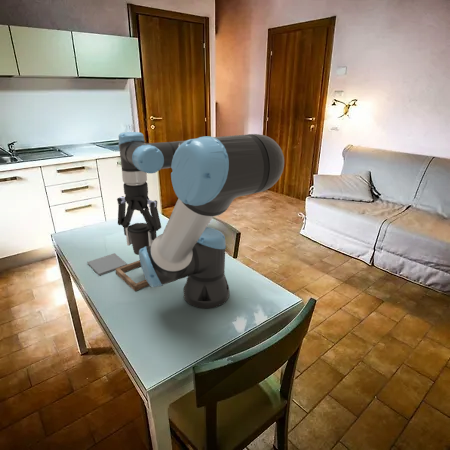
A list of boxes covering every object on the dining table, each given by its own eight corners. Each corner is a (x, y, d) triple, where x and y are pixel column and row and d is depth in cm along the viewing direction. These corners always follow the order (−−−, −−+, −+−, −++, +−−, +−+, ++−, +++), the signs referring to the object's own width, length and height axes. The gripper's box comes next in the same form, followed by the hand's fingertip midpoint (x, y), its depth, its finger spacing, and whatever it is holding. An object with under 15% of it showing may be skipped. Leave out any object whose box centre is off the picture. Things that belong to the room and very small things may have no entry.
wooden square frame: (171, 276, 116) (170, 270, 115) (135, 291, 107) (134, 284, 106) (150, 260, 125) (150, 254, 124) (116, 273, 116) (115, 267, 115)
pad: (127, 265, 121) (127, 263, 121) (99, 275, 115) (98, 273, 114) (114, 254, 129) (114, 253, 129) (87, 263, 122) (87, 262, 122)
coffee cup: (138, 244, 117) (135, 219, 113) (157, 248, 114) (156, 222, 110) (125, 254, 109) (121, 228, 106) (145, 258, 107) (143, 231, 103)
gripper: (170, 182, 103) (173, 245, 111) (114, 176, 108) (121, 237, 117) (158, 188, 96) (163, 255, 105) (100, 182, 102) (109, 245, 111)
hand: (141, 245), depth 111 cm, fingers closed on coffee cup, 8 cm apart
